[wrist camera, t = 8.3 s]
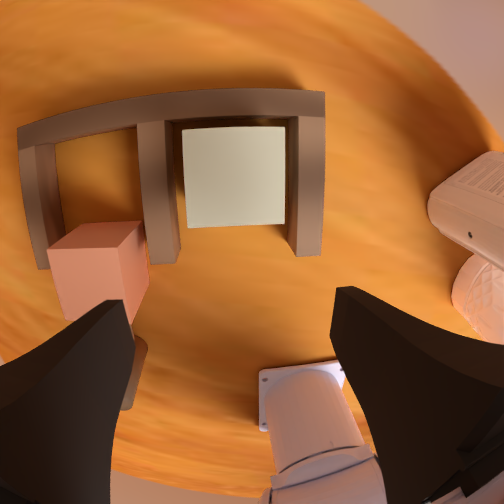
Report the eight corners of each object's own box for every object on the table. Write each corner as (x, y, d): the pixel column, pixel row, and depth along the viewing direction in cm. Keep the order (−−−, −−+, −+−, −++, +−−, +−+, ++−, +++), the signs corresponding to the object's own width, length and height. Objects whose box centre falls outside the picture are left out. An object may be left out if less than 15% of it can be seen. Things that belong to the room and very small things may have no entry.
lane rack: (309, 241, 19) (320, 255, 17) (54, 255, 18) (38, 269, 15) (311, 97, 16) (324, 91, 14) (37, 127, 14) (17, 128, 12)
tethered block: (163, 356, 22) (151, 413, 16) (113, 354, 21) (93, 406, 16) (142, 220, 18) (110, 255, 12) (82, 223, 17) (37, 256, 12)
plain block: (268, 201, 18) (284, 223, 14) (196, 204, 18) (187, 228, 13) (267, 130, 17) (284, 127, 12) (193, 133, 16) (181, 130, 12)
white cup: (436, 318, 24) (495, 382, 15) (460, 243, 21) (539, 294, 12) (480, 310, 25) (533, 359, 15) (501, 245, 22) (567, 286, 13)
